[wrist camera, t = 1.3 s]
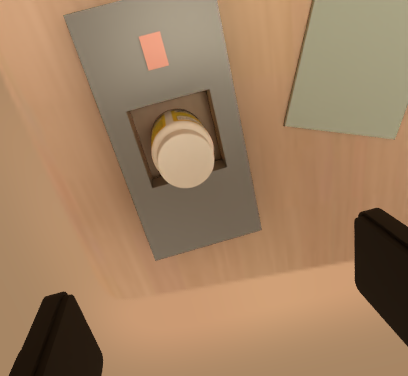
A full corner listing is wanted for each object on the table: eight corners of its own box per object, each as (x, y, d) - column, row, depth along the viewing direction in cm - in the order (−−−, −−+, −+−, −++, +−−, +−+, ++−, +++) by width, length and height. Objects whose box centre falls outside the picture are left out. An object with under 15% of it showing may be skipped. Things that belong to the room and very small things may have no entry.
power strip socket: (71, 18, 25) (61, 14, 22) (207, -17, 25) (213, -26, 22) (155, 246, 34) (155, 264, 31) (254, 218, 34) (263, 233, 31)
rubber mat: (439, 7, 29) (443, 6, 28) (392, 138, 33) (394, 139, 33) (317, -20, 26) (319, -21, 26) (283, 125, 31) (285, 126, 30)
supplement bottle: (163, 166, 31) (166, 203, 23) (142, 120, 29) (138, 144, 21) (210, 147, 31) (228, 178, 23) (192, 100, 29) (206, 116, 21)
